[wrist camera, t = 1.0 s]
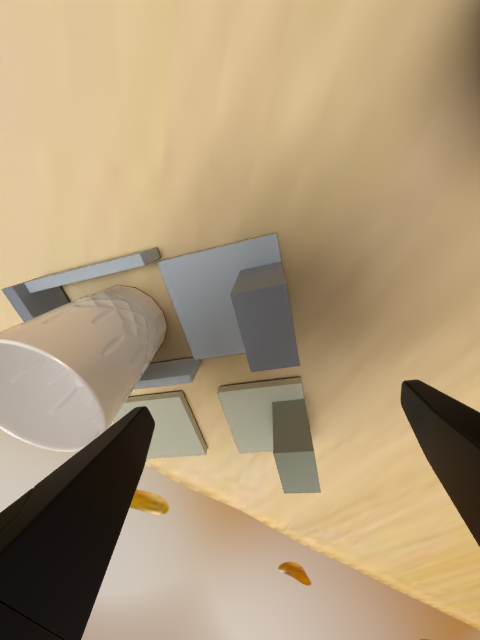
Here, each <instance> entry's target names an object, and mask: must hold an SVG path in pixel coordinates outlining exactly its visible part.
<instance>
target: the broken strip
mask: <svg viewBox="0 0 480 640" xmlns="http://www.w3.org/2000/svg"><path fill="white" fill-rule="evenodd" d="M217 393H218V396H219V399H220V401H221V404H222V407H223V410H224V412H225V415H226V418H227V421H228V423H229V426H230V429H231V432H232V434H233V437H234V440H235V443H236V445H237V448H238V451H239V453H253V452H270V451H273V454H274V458H275V461H276V465H277V469H278V472H279V476H280V480H281V483H282V487H283V491H284V493H321V491H320V485H319V479H318V473H317V467H316V460H315V454H314V449H313V443H312V438H311V433H310V427H309V422H308V417H307V411H306V406H305V401H304V395H303V389H302V383H301V378H300V377H298V378H289V379H281V380H272V381H264V382H255V383H247V384H238V385H230V386H221V387H219V388H218V392H217ZM141 406H146V407H147V408H148V409H149V411H150V413H151V415H152V417H153V419H154V421H155V428H154V432H153V436H152V440H151V443H150V447H149V451H148V454H147V458H146V459H148V458H166V457H183V456H200V455H206V453H207V446H206V444H205V442H204V440H203V437H202V435H201V433H200V431H199V428H198V426H197V424H196V422H195V419H194V417H193V415H192V413H191V410H190V408H189V406H188V404H187V401H186V399H185V397H184V394H183V392H182V391H179V392H170V393H162V394H153V395H145V396H136V397H128V398H127V400H126V401H125V403H124V404H123V406H122V408H121V409H120V411H119V412H118V414H117V415H116V417H115V418H114V420H113V422H114V424H115V423H116V422H117V421H118V420H120V419H121V418H122V417H123V416H125V415H126V414H127V413H129V412H130V411H131V410H132V409H134V408H135V407H141Z"/></svg>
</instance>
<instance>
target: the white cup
mask: <svg viewBox="0 0 480 640" xmlns="http://www.w3.org/2000/svg"><path fill="white" fill-rule="evenodd" d="M166 328H167V325H166V322H165V318H164V315H163V311H162V310H161V309H160V307H159V306H158V305H157V304H156V303H155V301H154V300H153V299H152V298H151V297H150V296H148V295H147V294H145V293H143V292H141V291H140V290H138V289H136V288H133V287H125V286H114V287H112V288H109V289H106V290H103V291H101V292H99V293H96V294H94V295H91V296H85V297H83V298H81V299H78V300H76V301H72V302H70V303H67V304H65V305H62V306H60V307H58V308H55V309H53V310H51V311H48V312H46V313H44V314H41V315H39V316H36V317H34V318H32V319H29V320H27V321H25V322H22V323H20V324H18V325H15V326H13V327H11V328H8V329H6V330H3V331H1V332H0V429H1V430H3V431H5V432H6V433H8V434H9V435H11V436H13V437H15V438H17V439H19V440H21V441H23V442H25V443H28V444H30V445H33V446H36V447H39V448H43V449H47V450H52V451H59V452H76V451H80V450H81V449H83V448H84V447H85V446H87V445H88V444H89V443H90V442H92V441H93V440H94V439H95V438H97V437H98V436H99V435H101V434H102V433H103V432H104V431H106V430H107V429H108V427H109V426H110V424H111V423H112V421H113V420H114V418H115V417H116V415H117V414H118V412H119V411H120V409H121V408H122V406H123V404H124V403H125V401H126V400H127V398H128V397H129V395H130V394H131V392H132V391H133V389H134V388H135V386H136V385H137V383H138V382H139V380H140V379H141V377H142V375H143V373H144V372H145V370H146V369H147V367H148V366H149V364H150V362H151V360H152V358H153V356H154V354H155V353H156V351H157V350H158V348H159V347H160V345H161V344H162V342H163V341H164V337H165V333H166Z"/></svg>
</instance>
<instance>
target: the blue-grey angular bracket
mask: <svg viewBox="0 0 480 640" xmlns="http://www.w3.org/2000/svg"><path fill="white" fill-rule="evenodd" d="M159 258H160V256H159V253H158V250H157V248H152V249H148V250H144V251H140V252H136V253H132V254H128V255H125V256H121V257H117V258H113V259H109V260H105V261H101V262H97V263H93V264H89V265H85V266H81V267H77V268H74V269H70V270H66V271H62V272H58V273H54V274H50V275H46V276H42V277H39V278H36V279H33V280H30V281H27V282H23V283H20V284H17V285H14V286H11V287H8V288H4V289H1V290H2V291H3V293H4V294H5V295H6V297H7V298H8V300H9V301H10V303H11V304H12V306H13V307H14V308H15V310H16V311H17V313H18V314H19V316H20V317H21V318H22V320H23V321H24V322H25V321H27V320H29V319H32V318H34V317H36V316H39V315H41V314H44V313H46V312H48V311H51V310H53V309H55V308H58V307H60V306H62V305H65V304H67V303H69V301H68V300H67V298H66V296H65V294H64V293H63V291H62V289H61V288H60V286H61V285H66V284H70V283H74V282H78V281H82V280H86V279H90V278H95V277H99V276H103V275H107V274H111V273H115V272H120V271H124V270H128V269H132V268H136V267H140V266H145V265H147V264H149V263H151V262H153V261H155V260H157V259H159ZM157 264H158V267H159V269H160V272H161V274H162V277H163V280H164V282H165V285H166V287H167V290H168V293H169V295H170V298H171V300H172V303H173V305H174V308H175V311H176V313H177V316H178V318H179V321H180V324H181V326H182V329H183V331H184V334H185V337H186V339H187V342H188V344H189V347H190V349H191V352H192V355H193V357H194V358H187V359H180V360H173V361H166V362H160V363H153V364H149V366H148V367H147V369H146V370H145V372H144V373H143V375H142V377H141V379H140V380H139V382H138V383H137V385H136V386H135V388H134V389H142V388H150V387H158V386H166V385H174V384H182V383H190V382H193V380H194V377H195V375H196V373H197V370H198V368H199V366H200V362H199V360H200V359H207V358H214V357H221V356H228V355H234V354H241V353H246V355H247V359H248V362H249V366H250V370H251V372H254V371H262V370H270V369H278V368H286V367H294V366H300V363H299V357H298V351H297V345H296V338H295V332H294V326H293V320H292V314H291V308H290V302H289V296H288V290H287V284H286V279H285V275H284V271H283V267H282V263H281V257H280V251H279V245H278V239H277V233H272V234H268V235H264V236H260V237H256V238H251V239H247V240H243V241H239V242H235V243H231V244H227V245H223V246H218V247H214V248H210V249H206V250H202V251H198V252H194V253H189V254H185V255H181V256H177V257H173V258H169V259H165V260H161V261H159V262H157ZM134 389H133V390H134Z"/></svg>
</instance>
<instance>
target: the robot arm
mask: <svg viewBox="0 0 480 640" xmlns="http://www.w3.org/2000/svg"><path fill="white" fill-rule="evenodd" d="M401 405H402V408H403V410H404V412H405V414H406V417H407V419H408V421H409V423H410V425H411V427H412V429H413V431H414V434H415V436H416V438H417V440H418V442H419V444H420V446H421V448H422V450H423V452H424V454H425V456H426V458H427V460H428V462H429V463H430V465H431V467H432V469H433V470H434V472H435V474H436V475H437V477H438V479H439V480H440V482H441V483H442V485H443V487H444V488H445V490H446V492H447V493H448V495H449V497H450V498H451V500H452V502H453V503H454V505H455V507H456V508H457V510H458V512H459V513H460V515H461V517H462V518H463V520H464V522H465V523H466V525H467V527H468V528H469V530H470V532H471V533H472V535H473V537H474V538H475V540H476V542H477V543H478V545H479V547H480V412H478V411H476V410H474V409H472V408H470V407H468V406H467V405H465V404H463V403H461V402H459V401H457V400H455V399H454V398H452V397H450V396H448V395H446V394H444V393H442V392H440V391H439V390H437V389H435V388H433V387H431V386H429V385H427V384H426V383H424V382H422V381H420V380H406V381H403V382H402V387H401ZM154 428H155V421H154V419H153V417H152V415H151V413H150V411H149V409H148V408H147V407H146V406H141V407H135V408H134V409H132V410H131V411H130V412H129V413H127V414H126V415H125V416H123V417H122V418H121V419H120V420H118V421H117V422H116V423H115V424H113V425H112V426H111V427H109V428H108V429H107V430H106V431H104V432H103V433H102V434H101V435H99V436H98V437H97V438H95V439H94V440H93V441H92V442H90V443H89V444H88V445H87V446H85V447H84V448H83V449H81V450H80V451H79V452H78V453H76V454H75V455H74V456H73V457H71V458H70V459H69V460H67V461H66V462H65V463H64V464H62V465H61V466H60V467H59V468H58V469H56V470H55V471H53V472H52V473H51V474H50V475H49V476H47V477H46V478H44V479H43V480H42V481H41V482H39V483H38V484H37V485H36V486H35V487H34V488H32V489H30V490H29V491H28V492H27V493H25V494H24V495H23V496H22V497H20V498H19V499H18V500H17V501H15V502H14V503H12V504H11V505H10V506H9V507H7V508H6V509H5V510H3V511H2V512H1V513H0V640H81V638H82V636H83V633H84V630H85V627H86V625H87V622H88V619H89V617H90V614H91V611H92V608H93V606H94V603H95V600H96V597H97V595H98V592H99V589H100V586H101V584H102V581H103V578H104V576H105V573H106V570H107V567H108V565H109V562H110V559H111V556H112V554H113V550H114V548H115V545H116V543H117V540H118V537H119V535H120V532H121V529H122V526H123V524H124V521H125V518H126V515H127V513H128V510H129V507H130V505H131V502H132V499H133V496H134V494H135V491H136V488H137V485H138V483H139V480H140V476H141V474H142V471H143V469H144V465H145V462H146V458H147V454H148V451H149V447H150V443H151V440H152V436H153V432H154Z"/></svg>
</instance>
